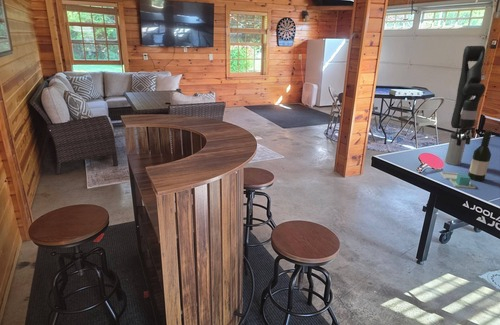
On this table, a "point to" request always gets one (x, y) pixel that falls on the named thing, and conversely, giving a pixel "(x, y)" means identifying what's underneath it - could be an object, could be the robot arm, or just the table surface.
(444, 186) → the table surface
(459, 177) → the teal block
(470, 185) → the green tray
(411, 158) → the table surface
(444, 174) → the grey tray
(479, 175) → the wine bottle
